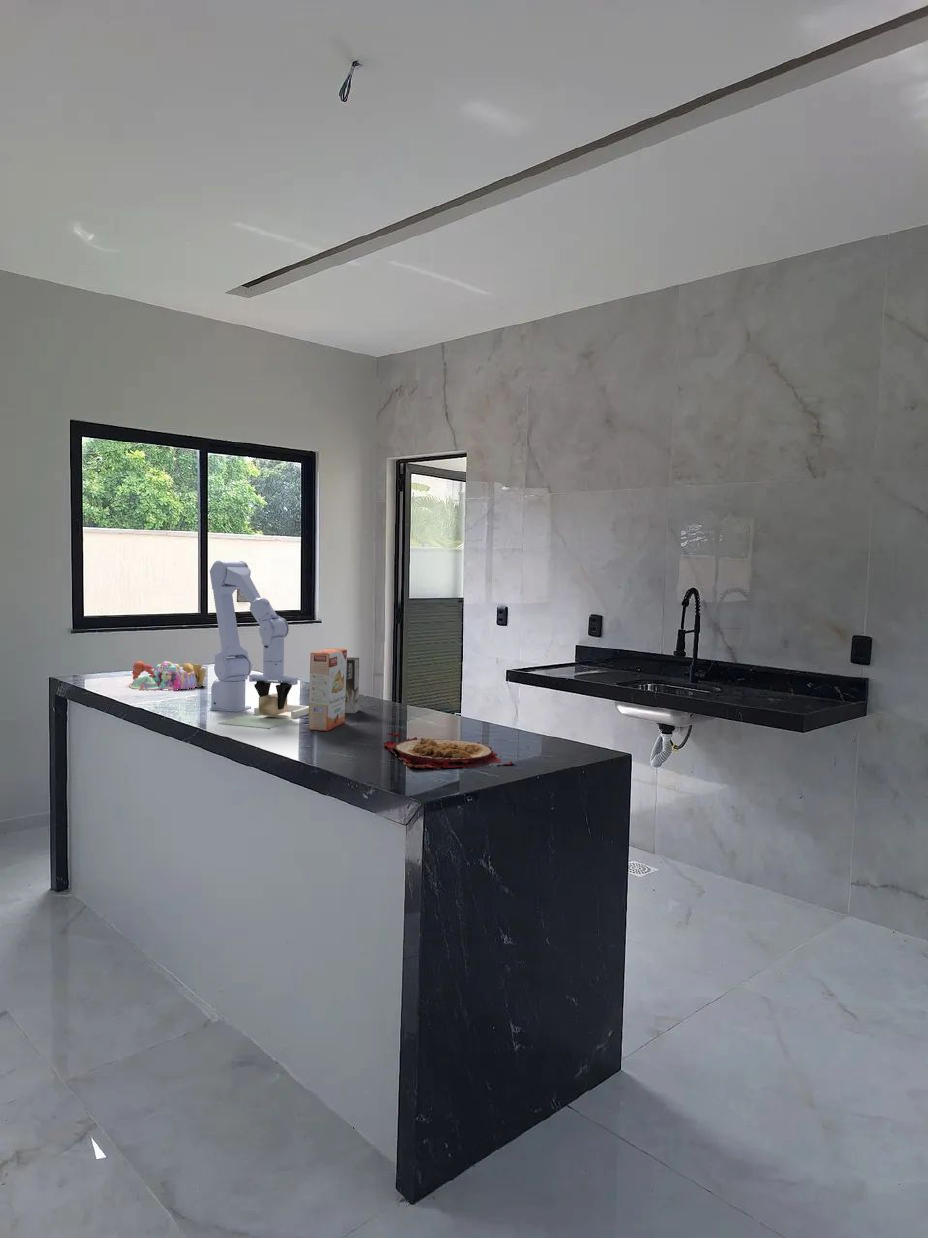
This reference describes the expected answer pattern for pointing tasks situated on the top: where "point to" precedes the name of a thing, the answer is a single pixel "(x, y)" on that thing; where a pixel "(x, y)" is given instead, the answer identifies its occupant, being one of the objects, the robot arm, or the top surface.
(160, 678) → the candy landscape model
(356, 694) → the coffee box
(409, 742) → the plate with food
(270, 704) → the oak block
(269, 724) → the stand mat
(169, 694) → the top surface
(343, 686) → the cracker box
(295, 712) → the shelf slot
